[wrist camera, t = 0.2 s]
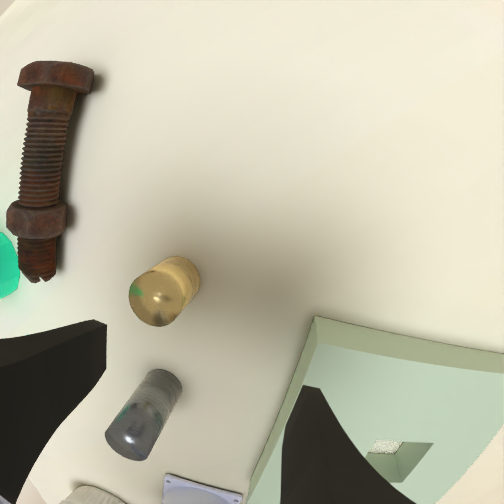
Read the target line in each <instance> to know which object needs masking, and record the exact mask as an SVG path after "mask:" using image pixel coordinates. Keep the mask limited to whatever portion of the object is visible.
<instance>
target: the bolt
mask: <svg viewBox="0 0 504 504" xmlns="http://www.w3.org/2000/svg"><path fill="white" fill-rule="evenodd" d="M93 80H94V71H93V70H92V69H90V68H88V67H86V66H82V65H79V64H76V63H72V62H61V61H35V62H32V63H30V64H28V65H26V66H25V67H24V68H22V69H21V72H20V76H19V79H18V83H17V85H18V86H20V87H22V88H24V89H26V90H29V91H31V95H30V100H29V105H28V110H27V111H28V118H27V120H28V121H29V122H28V123H27V124H26V125H27V126H28V128H26V131H27V133H25V135H26V136H27V137H26V138H24V140H25V141H26V142H24V143H23V145H25V147H23V148H22V149H23V150H24V151H25V152H23V153H22V155H24V157H22V158H21V159H22V160H23V162H21V164H22V165H23V166H22V167H21V168H20V169H21V170H22V171H21V172H20V174H21V175H22V176H21V177H20V179H21V180H22V181H21V182H19V184H20V185H21V186H20V187H19V189H20V191H19V192H18V193H19V194H20V196H19V197H18V199H20V200H17V201H14V202H12V203H11V205H10V206H9V208H8V210H7V214H6V227H7V228H8V229H9V231H10V232H11V233H12V234H13V235H15V236H18V238H17V240H18V241H19V242H18V243H17V244H18V247H17V249H18V250H19V251H18V267H19V269H20V270H21V271H22V273H23V274H24V275H25V276H26V278H27V279H28V280H29V281H30V282H31V283H37V282H39V281H40V279H39V277H41V278H42V279H43V280H44V281H45V282H46V281H48V280H50V279H51V278H52V277H53V276H54V275H55V274H56V246H57V245H56V243H57V241H56V238H57V236H58V235H61V234H62V233H63V232H64V230H65V227H66V221H67V206H66V205H65V204H64V203H63V202H60V201H59V200H58V197H59V194H58V193H59V192H60V190H59V189H58V188H60V185H59V183H60V182H61V181H60V180H59V179H60V178H61V176H60V175H59V174H60V173H62V172H61V171H60V169H62V166H60V165H61V164H62V163H63V162H62V161H61V160H62V159H63V158H64V157H63V156H61V155H63V154H64V152H63V151H62V150H64V149H65V147H64V146H63V145H64V144H66V142H64V140H66V137H64V136H65V135H67V132H65V131H67V130H68V128H67V127H66V126H68V125H69V123H68V121H69V120H70V116H71V115H72V112H73V108H74V103H75V99H76V95H77V94H90V92H91V88H92V84H93Z"/></svg>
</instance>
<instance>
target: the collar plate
mask: <svg viewBox="0 0 504 504" xmlns="http://www.w3.org/2000/svg"><path fill="white" fill-rule="evenodd" d="M302 385H307V386H311V387H316V388H320V389H321V391H322V393H323V395H324V396H325V398H326V400H327V402H328V404H329V406H330V407H331V409H332V411H333V413H334V414H335V416H336V418H337V420H338V421H339V423H340V424H341V426H342V428H343V429H344V431H345V432H346V434H347V435H348V437H349V438H350V440H351V441H352V442H353V444H354V445H355V446H356V448H357V449H358V450H359V452H360V453H361V454H362V455H363V457H364V458H365V459H366V460H367V461H368V462H369V463H370V464H371V465H372V467H373V468H374V469H375V470H376V471H377V472H378V473H379V474H380V475H381V476H382V477H383V478H385V479H386V480H387V481H388V482H389V483H390V484H391V485H392V486H393V487H395V488H396V489H397V490H398V491H400V492H401V493H402V494H404V495H405V496H406V497H408V498H409V499H411V500H412V501H413V502H415V503H416V504H436V503H437V502H438V501H439V500H440V499H441V498H442V497H443V496H444V495H445V494H446V493H447V492H448V491H449V490H450V488H451V487H452V486H453V485H454V484H455V483H456V482H457V481H458V480H459V479H460V478H461V477H462V476H463V474H464V473H465V472H466V471H467V470H468V469H469V468H470V466H471V465H472V464H473V463H474V462H475V461H476V459H477V458H478V457H479V456H480V454H481V453H482V452H483V451H484V449H485V448H486V447H487V446H488V444H489V443H490V442H491V440H492V439H493V438H494V436H495V435H496V434H497V432H498V431H499V430H500V428H501V427H502V425H503V424H504V354H501V353H495V352H489V351H483V350H477V349H471V348H466V347H460V346H455V345H449V344H444V343H439V342H433V341H428V340H423V339H418V338H413V337H408V336H403V335H399V334H394V333H389V332H384V331H380V330H375V329H371V328H366V327H362V326H357V325H353V324H348V323H344V322H340V321H335V320H331V319H327V318H323V317H318V316H315V317H314V320H313V323H312V326H311V329H310V332H309V334H308V337H307V340H306V343H305V346H304V349H303V352H302V354H301V357H300V360H299V363H298V365H297V368H296V371H295V373H294V376H293V379H292V381H291V384H290V387H289V389H288V392H287V394H286V397H285V400H284V402H283V405H282V407H281V410H280V412H279V415H278V417H277V420H276V422H275V424H274V427H273V429H272V432H271V434H270V436H269V439H268V441H267V443H266V446H265V448H264V450H263V453H262V455H261V457H260V459H259V462H258V464H257V466H256V468H255V471H254V473H253V475H252V477H251V480H250V485H249V491H248V496H247V501H246V504H280V495H281V457H282V444H283V437H284V431H285V425H286V423H287V421H288V418H289V416H290V414H291V412H292V409H293V407H294V405H295V402H296V400H297V398H298V395H299V393H300V390H301V388H302ZM376 440H385V441H399V442H403V443H402V445H401V446H400V447H399V449H398V450H397V452H396V453H395V454H380V453H368V452H369V450H370V449H371V448H372V446H373V445H374V443H375V442H376Z"/></svg>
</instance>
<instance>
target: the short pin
mask: <svg viewBox="0 0 504 504" xmlns="http://www.w3.org/2000/svg"><path fill="white" fill-rule="evenodd" d="M199 286H200V276H199V273H198V270H197V269H196V267H195V266H194V265H193V263H191V262H190V261H189V260H187V259H185V258H183V257H179V256H173V257H169V258H167V259H165V260H164V261H162V262H161V263H159V264H157V265H156V266H154V267H153V268H151V269H150V270H148V271H147V272H145V273H144V274H142V275H141V276H139V277H138V278H137V279H135V280H134V281H133V283H132V284H131V287H130V290H129V301H130V305H131V308H132V310H133V311H134V313H135V314H136V315H137V317H138V318H139V319H141V320H142V321H143V322H145V323H147V324H149V325H152V326H157V327H161V326H166V325H168V324H170V323H171V322H172V321H174V319H175V318H176V317H177V316H178V315H179V313H180V312H181V311H182V310H183V309H184V307H185V306H186V305H187V304H188V303H189V301H190V300H191V299H192V298H193V297H194V295H195V294H196V293H197V291H198V289H199Z"/></svg>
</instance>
